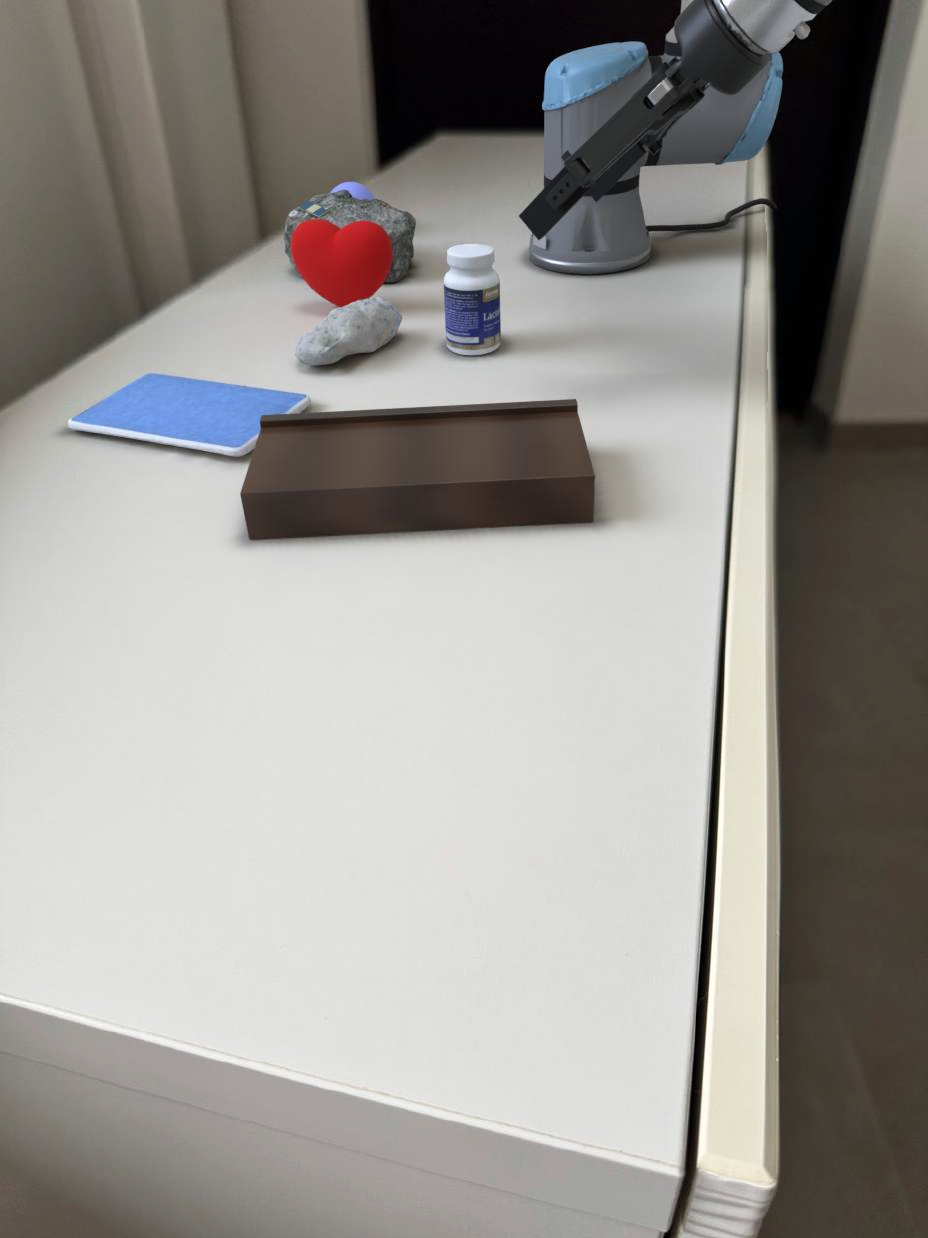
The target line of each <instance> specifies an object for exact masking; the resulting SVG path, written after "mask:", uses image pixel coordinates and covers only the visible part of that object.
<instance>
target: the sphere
mask: <svg viewBox="0 0 928 1238" xmlns="http://www.w3.org/2000/svg"><path fill="white" fill-rule="evenodd" d="M340 190H348V191H349V193H350V194H351V195H352V197H354V198H357V199H360V200H362V199H368V200H372V199H376V198H375V196H374V194H373V193H372V191H371V190H370V189H368V188H367V187H366V186H365V185H363V184H362V183H360V182H355V181H345V182H342V183H339V184H338V185H337V186H335V187H334V188H333V189H332V190H331V191H330V193H333V192H337V191H340Z"/></svg>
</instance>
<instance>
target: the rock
mask: <svg viewBox="0 0 928 1238" xmlns="http://www.w3.org/2000/svg"><path fill="white" fill-rule="evenodd" d="M311 219H320V220H325V221H328V222H330V223H332V224H334V225H336V226H338V227H339V228H341V229H342V228H343V227H345V226H346V225H348V224H350V223H352V222H355V221H363V220H364V221H371V222H374V223H376V224H378V225H380V226H381V227H382V228H383V229H384V230H385V231H386V233H387V234H388V236H389V238H390V241H391V245H392V263H391V267H390V270H389V273H388V275H387V277H386V279H385V281H384V283H396V282H398V281H400V280H402V278H404V277H407V276H408V270H409V268H410V264H411V262H412V260H413V259H414V256H415V255H414V251H415V247H414V242H413V240H414V237H415V231H416V225H417V219H416V218H415V216H413V215H412V213H411V212H409V211H407V210H402V209H401V210H400V209H398V208H397V207H394V206H391V205H390V204H389V203H387V202H385V201H383V200H381V199H378V198H375V199H372V200H368V199H362V200H360V199H357V198H354V197H352V195H351V194H350V193H349V191H348V190H340V191H337V192H333V193H331V192H326V193H321V194H316V195H314V196H312V197H310V198H309V199H308V200H307V201H306V202H304V203H302V204H301V205H299V206H297V207H295V208H293V209H292V210H291V211H290V212H289V214H288V215H287V217H286V218H285V220H284V221H285V228H284V230H283V231H284V233H283V242H284V253H285V255H286V256H287V257H288V259H289V262H290V264H291V266H292V267H293V268H294V270H295V272H296V273H297V274H299V275H300V273H299V271H298V270H297V268H296V265H295V263H294V260H293V257H292V253H291V238H292V234H293V232H294V230H295V229H296V227H297V226H298V225H299V224H301V223H302V222H304V221H307V220H311Z"/></svg>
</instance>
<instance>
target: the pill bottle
mask: <svg viewBox="0 0 928 1238" xmlns="http://www.w3.org/2000/svg"><path fill="white" fill-rule="evenodd" d="M446 263H447V264H448V265H449V267H450V269H449V270H448V271H447V272H446V273H445V275H444V277H443V296H444V297H443V300H444V301H443V302H444V303H443V304H444V323H445V327H444V328H445V342H446V346H447V349H448V350H450V351H451V352H453V353H455V354H458V355H462V356H481V355H486V354H490V353H492V352H495V351H496V350H498V348H499V347H500V346H501V343H502V331H501V328H502V327H501V323H502V322H501V282H500V281H501V279H500V275H499V273H498V271H497V270H496V269H494V268H493V265H494V263H495V249H494V248H493V247H492V246H491V245H488V244H482V243H465V244H464V243H463V244H457V245H453V246H451V247H449V248H448V249H447V251H446Z"/></svg>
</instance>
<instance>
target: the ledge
mask: <svg viewBox="0 0 928 1238" xmlns="http://www.w3.org/2000/svg"><path fill="white" fill-rule="evenodd" d="M260 427H261V429H260V432H259V435H258V438H257V442H256V445H255V448H254V449H253V450H252V455H251V458H250V462H249V464H248V468H247V470H246V474H245V477H244V480H243V483H242V486H241V490H240V494H239V495H240V500H241V504H242V511H243V515H244V521H245V525H246V530H247V531H246V532H247V536H248V540H271V539H289V538H290V539H292V538H309V537H328V536H329V537H330V536H349V535H367V534H387V533H406V532H407V533H409V532H423V531H424V532H426V531H428V532H429V531H446V530H447V531H448V530H464V529H465V530H467V529H484V528H485V529H487V528H505V527H506V528H507V527H525V526H527V527H528V526H542V525H543V526H544V525H562V524H563V525H564V524H566V525H567V524H582V523H583V524H584V523H593V522H594V519H595V518H594V517H595V515H594V514H595V492H596V490H595V489H596V473H595V470H594V467H593V462H592V459H591V455H590V452H589V448H588V444H587V440H586V437H585V433H584V429H583V426H582V423H581V419H580V416H579V405H578V401H577V398H569V399H568V398H567V399H566V398H565V399H549V400H548V399H547V400H531V401H529V400H527V401H509V402H490V403H488V402H487V403H471V404H451V405H431V406H412V407H396V408H395V407H392V408H375V409H372V408H371V409H357V410H356V409H355V410H354V409H353V410H336V411H335V410H333V411H318V412H301V413H295V414H275V415H262V416H261V418H260Z"/></svg>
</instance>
